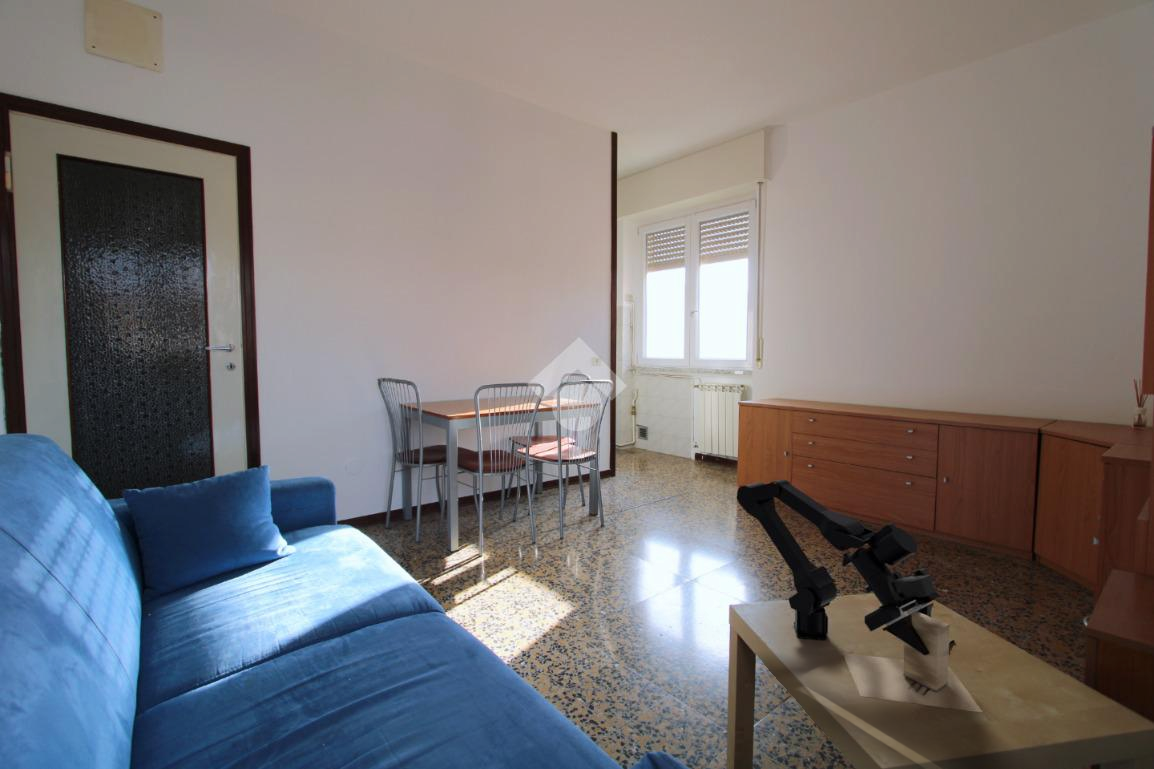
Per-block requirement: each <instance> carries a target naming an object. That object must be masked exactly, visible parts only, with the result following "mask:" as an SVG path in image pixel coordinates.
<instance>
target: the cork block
mask: <svg viewBox="0 0 1154 769" xmlns="http://www.w3.org/2000/svg"><path fill="white" fill-rule="evenodd" d="M911 615H912V625H913V627H914V629H915V630H916V632H917V633H918V635H919V636H920V638H921V639H922V641H923V642H924V644H925V646H926V647H927V649H928V651H929V654H928V655H923V654H922V653H920V652H919V651H917V650H916V649H914V648H913V647H911V646H910V645H908V644H907V643H905V642H903V644H904V645H903V660H904V672H903V676H905V677H907V678H909V679H911V680H913V681H915V682H917V683H919V684H921V685H923V686H925V687H928V688H930V689H932V690H934V691H936V692H937V691H938V690H940V689H941V688H943V687H944V686H946V685H947V684H948V666H949V662H950V659H949V658H950V657H949V654H950V643H949V639H950V625H951V624H950V623H949V622H948V623H947V622H945V621H943V620H939V619H937V618H935V617H932V616H931V617H930V616H927V615H925V614H922V613H919V612H915V613H913V614H911Z"/></svg>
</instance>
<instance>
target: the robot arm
mask: <svg viewBox="0 0 1154 769" xmlns="http://www.w3.org/2000/svg"><path fill="white" fill-rule="evenodd" d="M775 499H777V500H779V501H780V502H782V503H783V504H784V505H786V506H787V507H788V508H790V509H791V510H793V511H794V512H796V513H797V514H799V515H800V516H801V517H802V518H804V519H805V520H807V521H808V522H810V523H811V524H813V525H814V526H815V527H816V528H817V530H819V532H820V534H821V536H822V537H823V539H825V541H826V542H828V543H829V545H831V546H832V547H833V548H835V549H836V550H838V551H847V552H843V554H842V556H843V557H842V563H841V565H842V567H847V566H849V565H852V566H853V567H854V568H855V570H856V571H857V572H858V574H859V575H860V577H861V578H862V579H863V581H864V582H865V583H866V585H867V586H866V587H865V588H864V589H865V591H866V592H867V594H870V593H873V594H874V596H875V597H876V599H877V600H878V601H879V603H880V605H881V606H880V605H879V606H878V608H877V609H875V610H873V611H872V612H870V613H868V614H866V615H864V621H863V622H864V624H865V626H866V627H867V628H868V630H869V631H870V632H873V631H875V630H877V629H879V628H880V627H883V626H884V625H886V626H885V627H883V628H882V629H881V630H882V631H883V632H888V633H890V634H891V635H893V636H894V637H895V638H896V637H898V638H899V639H901V640H902V641H904V642H905V643H907V644H908V645H910V646H911V647H913V648H914V649H916V650H917V651H919V652H920V653H922V654H923V655H928V654H929V651H928V649H927V647H926V646H925V644H924V642H923V641H922V639H921V638H920V636H919V635H918V633H917V632H916V630H915V629H914V627H913V625H912V615H911V614H913V613H915V612H919V613H922V614H925V615H927V616H930V617H932V608H933V607H934V602H933V601H934V600H937V599H938V598H940V597H941V596H940V594H939V593H938V592H937V590H936V588H935V585H934V584H935V583H936V581H937V580H936V578H934V577H933V575H932V574H931V573H930V572H929V571H928V570H927V569H926V568H921V569H920V568H918V569H917V570H914V572H913V575H910V576H907V577H904V576H903V575H902V573H900V572H899V571H895V572H894V571H893V570H892V569H891V568H890V567H889V566H896V565H897V564H899V563H901V562H902V561H904V560H905V559H907V558H909V557H910V556H912V555H913V554H915V553H916V552H918V549H919V548H918V544H917V542H916V541H915V539H914V537H913V536H912V535H911V534H909V533H907V532H906V531H905V530H904V529H902V528H899V527H897V526H896V524H894V523H893V522H890V523H888V524H886V525H885V526H883V527H882V528H881V530H879V531H875V530H873V529H871V528H868V527H866V526H864V525H863V524H862V523H861V522H860V521H858V520H857V519H854V518H852V517H850V516H847V515H845V514H842V513H839V512H834V511H832V510H830V509H828V508H827V507H825V506H824V505H822V504H821V503H819V502H818V501H817V500H815V499H814V498H812V497H810V496H809V495H808V494H806V493H804V492H803V491H801V490H800V489H799V488H797V487H796V486H794V485H792V484H791V482H790V481H789V480H787V479H783V478H782V479H777V480H774V481H770V482H769V483H764V482H760V481H759V482H753V483H748V484H744V485H741V486H739V488H738V489H737V492H736V500H737V502H738V504H739V505H740V506H741V507H742V509H743V510H744V511H745V512H746V513H747V514H748V515H750V516H752V517H753V518H754V519H756V520H758V522H759V523H760V525H761V526H762V528H763V529H764V531H765V532H766V534H767V535H768V537H769V538H770V540H771V542H772V543H773V545H774V546H775V548H776V549H777V550H778V552H779V553H778V554H780V556H781V557H782V558H783V560H784V562H785V563H786V565H787V567H788V568H789V570H790V571H791V573H792V577H793V585H794V589H795V590H796V593H795V594H794V595H792V596H791V597H789V598H788V603H789V607H790V609H792V610H794V622H793V627H795V628H794V631H795V635H796V636H797V638H801V639H812V640H819V641H820V640H821V641H827V640H828V636H827V635H828V634H829V617H828V614H827V612H826V609H825V607H829V606H830V604H831V602H832V601H834V600H835V599H836V597H837V591H838V589H837V588H838V587H837V586H836V584H835V582H836V580H835V579H834V578H833V577H832V576H831V575H830V573H829V572H828V569H827V568H826V567H825V565H821V566H819V567H818V566H816V565H815V564H813V563H812V562H811V561H810V559H809V557H808V556H807V555H806V553H805V552H804V550H803V549H802V548H801V546H800V544H799V543H798V542H797V540H796V539H795V537H794V536H793V534H792V533H791V531H790V529H788V527H787V525H786V523H785V522H784V520H782V518H781V516H780V515H779V514H778V512H777V510H776V504H775ZM867 545H868V546H869V547H867V548H866V547H865V546H867ZM851 549H855V550H854V551H852V552H851V551H848V550H851ZM931 602H932V603H931ZM929 603H930V604H929ZM905 612H906V613H907V615H906V614H905ZM904 642H903V643H904Z"/></svg>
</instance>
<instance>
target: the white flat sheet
mask: <svg viewBox="0 0 1154 769" xmlns="http://www.w3.org/2000/svg"><path fill="white" fill-rule="evenodd" d="M842 656H843V657H844V660H845V662H846V665H847V667H848V670H849V672H850V675H851V676H852V680H853V681H854V684H855V686H856V689H857V691H858V693H859V696H860V697H862V698H868V699H869V698H870V699H876V700H877V699H878V700H885V701H892V702H901V703H908V704H915V705H922V706H931V707H939V708H946V709H955V710H960V711H961V710H962V711H968V712H969V711H970V712H975V713H976V712H978V713H984V712H983V710H982V709H981V707H980V706H979V704H978V703H977V702H976V701H975V699H974V697H972V695H971V694H970V692H969V691H968V690H967V688H966V687H965V686H964V685H963V683H962V682H961V680H960V679H959V678H958V676H957V675H956V673H955V672H954V671H953V669H951V667H950V666H949V665H948V684H947V685H946V686H944V687H943V688H941V689H940V690H938V691H937V692H936V691H934V690H932V689H930V688H928V687H925V686H923V685H921V684H919V683H917V682H915V681H913V680H911V679H909V678H907V677H905V676H903V672H904V659H898V658H890V657H881V656H872V655H864V654H863V655H862V654H853V653H845V652H843V653H842Z"/></svg>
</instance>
